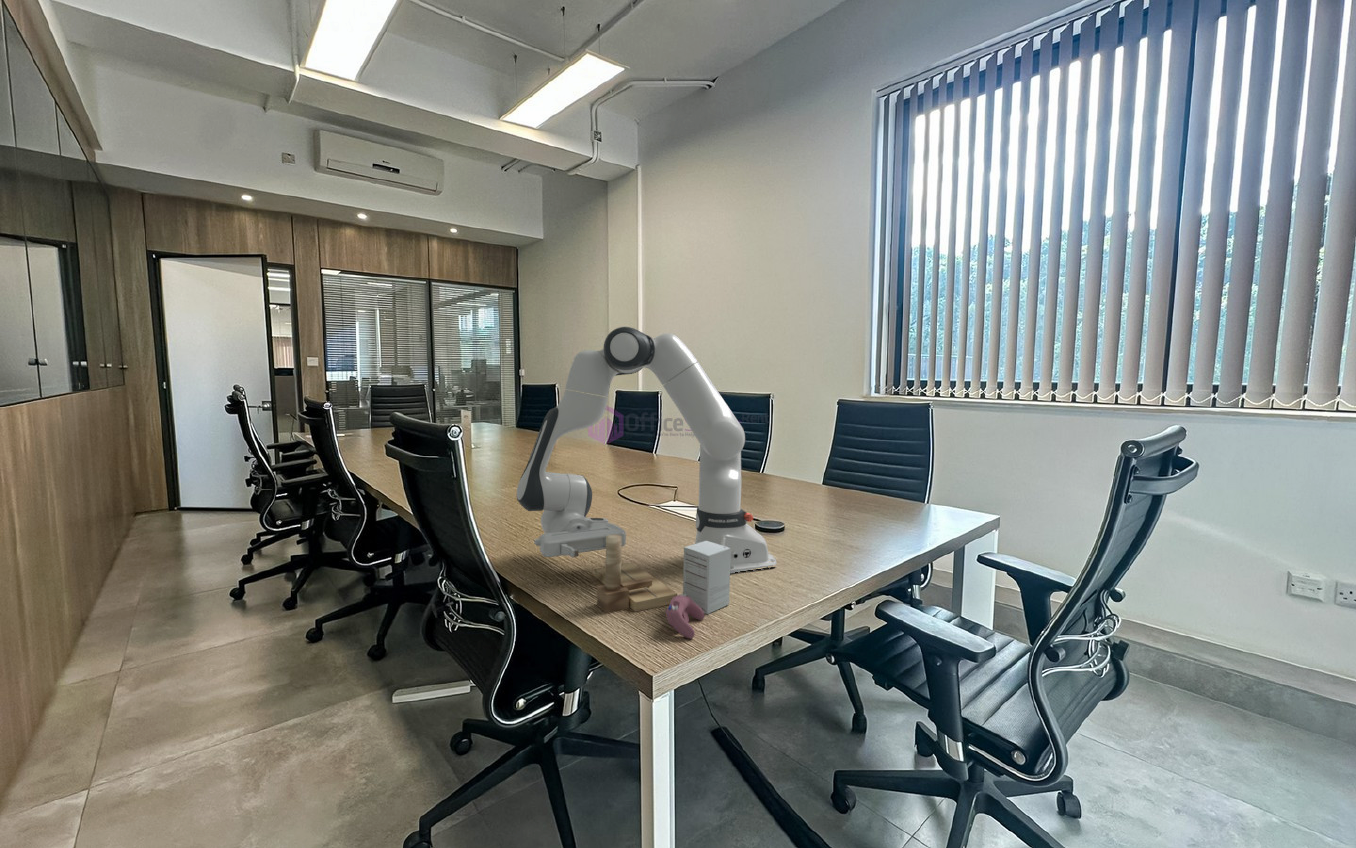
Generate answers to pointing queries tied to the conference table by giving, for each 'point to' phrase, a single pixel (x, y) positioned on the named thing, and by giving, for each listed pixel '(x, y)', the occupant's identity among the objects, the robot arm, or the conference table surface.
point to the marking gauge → (616, 580)
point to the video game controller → (683, 614)
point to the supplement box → (707, 575)
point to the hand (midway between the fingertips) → (595, 550)
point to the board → (642, 596)
